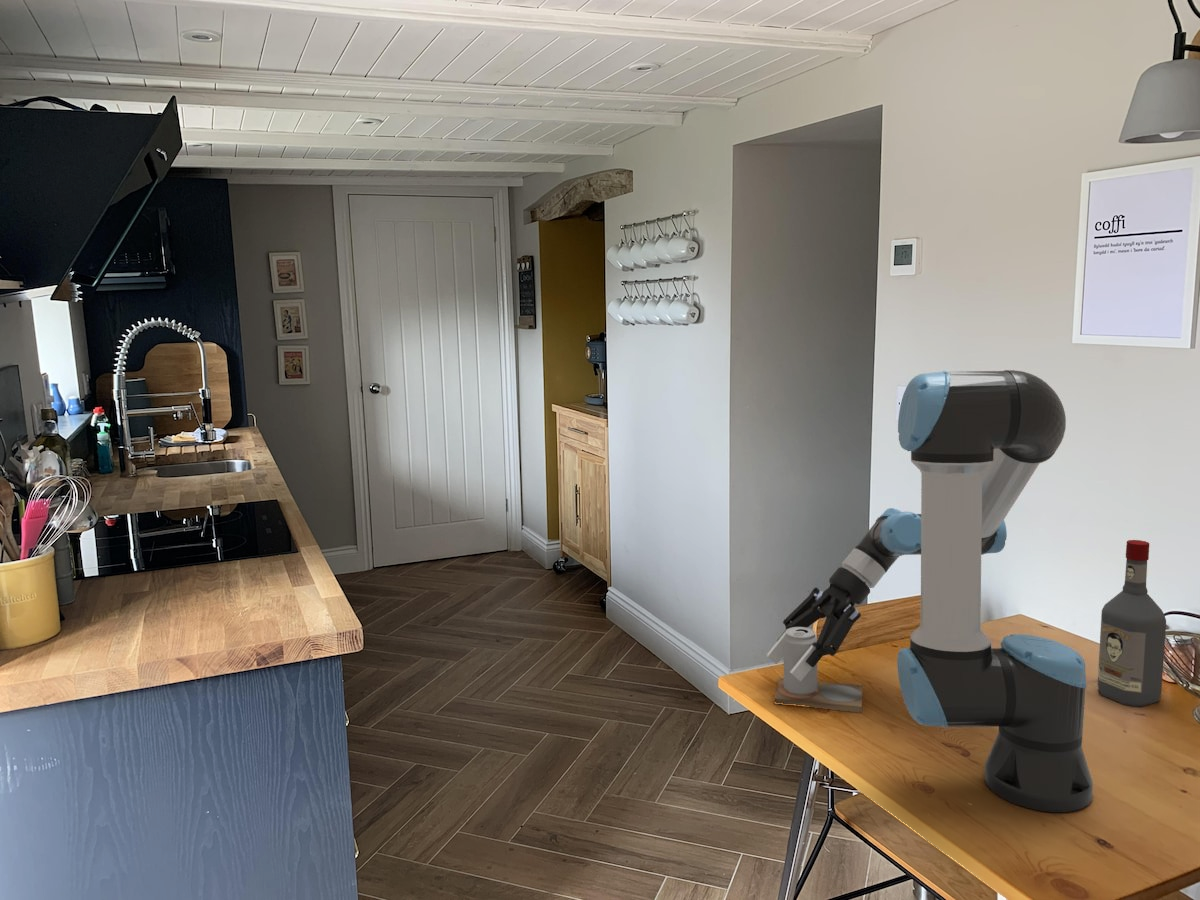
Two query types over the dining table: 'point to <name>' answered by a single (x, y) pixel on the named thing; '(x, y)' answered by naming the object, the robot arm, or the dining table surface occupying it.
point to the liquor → (1132, 637)
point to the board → (825, 696)
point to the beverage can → (794, 649)
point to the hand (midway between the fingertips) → (783, 667)
